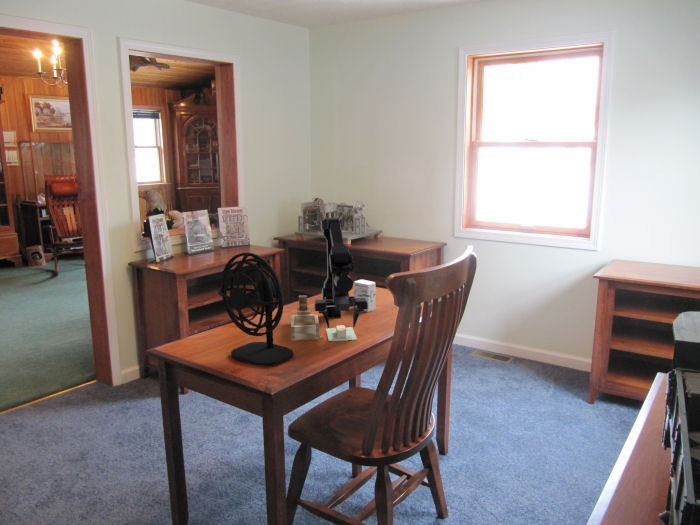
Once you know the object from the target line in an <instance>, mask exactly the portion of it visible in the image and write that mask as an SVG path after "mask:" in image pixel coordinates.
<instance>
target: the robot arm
mask: <svg viewBox="0 0 700 525" xmlns="http://www.w3.org/2000/svg"><path fill="white" fill-rule="evenodd" d="M320 230H321V231H322V232H321V233H322V235H323V236H324V237H323V238H325V240H326V266H327V267H326V268H327V269H326V271H327V272H326V273H327V276H326V279H325V280H324V282H323V287H322V288H321V296H320V297H321V299H315V300H314V302H313V304H314V311H315V312H318V313H319V314H321V315H322V316H323V318H324V321H325V323H326V326H327V328H330V322H329V319H337V318H338V319H341V318H342V313H341V312H344V311H345V312H349V311H350V310H351V308H353V318H352V328H355V327H356V323H357V321H358V318H359V316H360V314H361V313H363V312H365V311H364V309H368V302H367V301H366V299H365V298H355V296H354V295H353V296H351V295H350V291H351V290H352V289H353V288H354V281H353V279H352V278H351V277H350V272H351V273H353V272H354V269H355V263H354V262H355V261H354V256H352V255H353V254H352V253H350V250H349V247H348V246H347V245H346V244H345V242H344V236H343V231H342V230H344V219H341V218H340V217H324V218H323V219H322V220H320Z"/></svg>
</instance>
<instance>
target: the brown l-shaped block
mask: <svg viewBox="0 0 700 525" xmlns="http://www.w3.org/2000/svg"><path fill="white" fill-rule="evenodd" d="M298 308H299V309H300V310H307V308H308V295H306V294H305V295H304V294H303V295H302V294H300V295H298Z"/></svg>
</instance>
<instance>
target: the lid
mask: <svg viewBox="0 0 700 525" xmlns="http://www.w3.org/2000/svg"><path fill="white" fill-rule="evenodd" d="M325 333H326V335H327V340H328V342H329V341H332V342H349V341H348V340H352V341H358V338H357V335H356V334H355V331H354V327H353V326H351V327H350V326H349V327H346V326H345V325H343V324H340V325H336V326H335V327H331V328H330V327H329V328H328V327H327V328H325Z"/></svg>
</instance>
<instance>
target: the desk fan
mask: <svg viewBox="0 0 700 525" xmlns="http://www.w3.org/2000/svg"><path fill="white" fill-rule="evenodd" d="M240 257H242V259H241V260H239V261H235V260H236V259H238V258H240ZM248 257H252V258H248ZM247 258H248V259H247ZM234 261H235V262H234ZM253 262H254V263H253ZM255 263H256V264H255ZM244 264H246V265H248V266H250V267H252V268H253V269H250V270H249V271H248V272H247V273H246V274H245V273H242V270H243V267H244ZM234 266H235V268H234V269H233V271H232V274H231V275H230V276H229V277H228V274H229V272H230V271H231V270H232V268H233V267H234ZM262 266H263V267H264V268H265V269H263V267H262ZM223 268H224V269H223V271H222V274H221V281H220V288H219V289H218V292H217V293H218V295H219V296H220V297H221V299H222V302H223V306H224V308H225V311H226V313H227V315H228V317H229V318H230V320H231V321H232V322H233V324H234V325H235V326H236V327H237V328H238V330H241V332H243V333H244V334H247V335H249V336H251V337H263V336H265V339H266V341H253V342H249V343H246V344H243V345H240V346H239V347H236V348H234V349H232V350H231V351H230V356H231V357H232V358H233V359H235V360H237V361H240V362H244V363H246V364H247V363H248V364H250V365H253V366H258V367H271V366H272V367H273V366H276V365H280V364H282V363H284V362H286V361H289V360H290V359H292V358H293V357H294V355H295V353H294V352H295V351H294V350H293V349H292V348H290V347H286V346H284V345H283V346H282V345H279V344H275V343H274V330H275V329H276V328H277V327H278V325H279V323H280V322H281V319H282V317H283V316H282V315H283V313H284V306H285V304H284V302H285V301H284V300H285V298H284V292H283V289H282V285H281V282H280V279H279V277H278V275H277V273H276V272H275V269H274V268H273V267H272V265H271V264H270V263H269V262H268V261H267V260H266V259H264V257H262V256H260V255H258V254H257V253H253V252H242V253H238V254H236V255H234V256H232V257H231V258H230V259H229V260H228V261H227V263H226V264H225V266H224V267H223ZM254 271H257V272H258V273H259V275H260V280H258V281H257V283H256V282H254V280H253V279H252V278H251V277H250V274H251V273H252V272H254ZM236 276H237V277H236ZM241 276H242V277H244V280H243V285H242V287H240V284H241V283H240V282H241ZM227 277H228V278H227ZM268 277H269V278H268ZM235 278H236V286H235ZM247 280H248V281H249V282H250V283H251V285H252V286H253V288H249V287H247V286H246V285H247ZM229 282H230V287H228V285H229ZM227 292H229V295H228V294H227ZM247 292H251V293H256V297H257V300H250V299H248V295H247ZM274 300H275V301H274ZM246 304H247V305H248V307H249V308H250V309H251V311H253V312H254V315H253V316H252V317H251V318H249V319H248V318H247V316H245V314H244V313H243V312H242V310H244V309H245V307H246ZM252 305H256V306H257V307H256V309H255V307H253V306H252ZM231 306H232V307H233V308H234V309H235V310H236V312H237V313H238V315H237V314H235V312H234V311H233V310H232V307H231ZM260 307H261V311H260ZM276 309H277V311H276V313H275V315H274V317H273V313H274V311H275V310H276ZM257 315H260V317H259V321H258V324H257V323H255V322H253V320H255V318H256V317H257ZM264 316H265V321H264V322H263V319H264ZM245 323H247V324H248V325H250V326H252V327H249V326H246V325H245ZM263 328H265V331H264V332H259V331H260V330H261V329H263Z"/></svg>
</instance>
